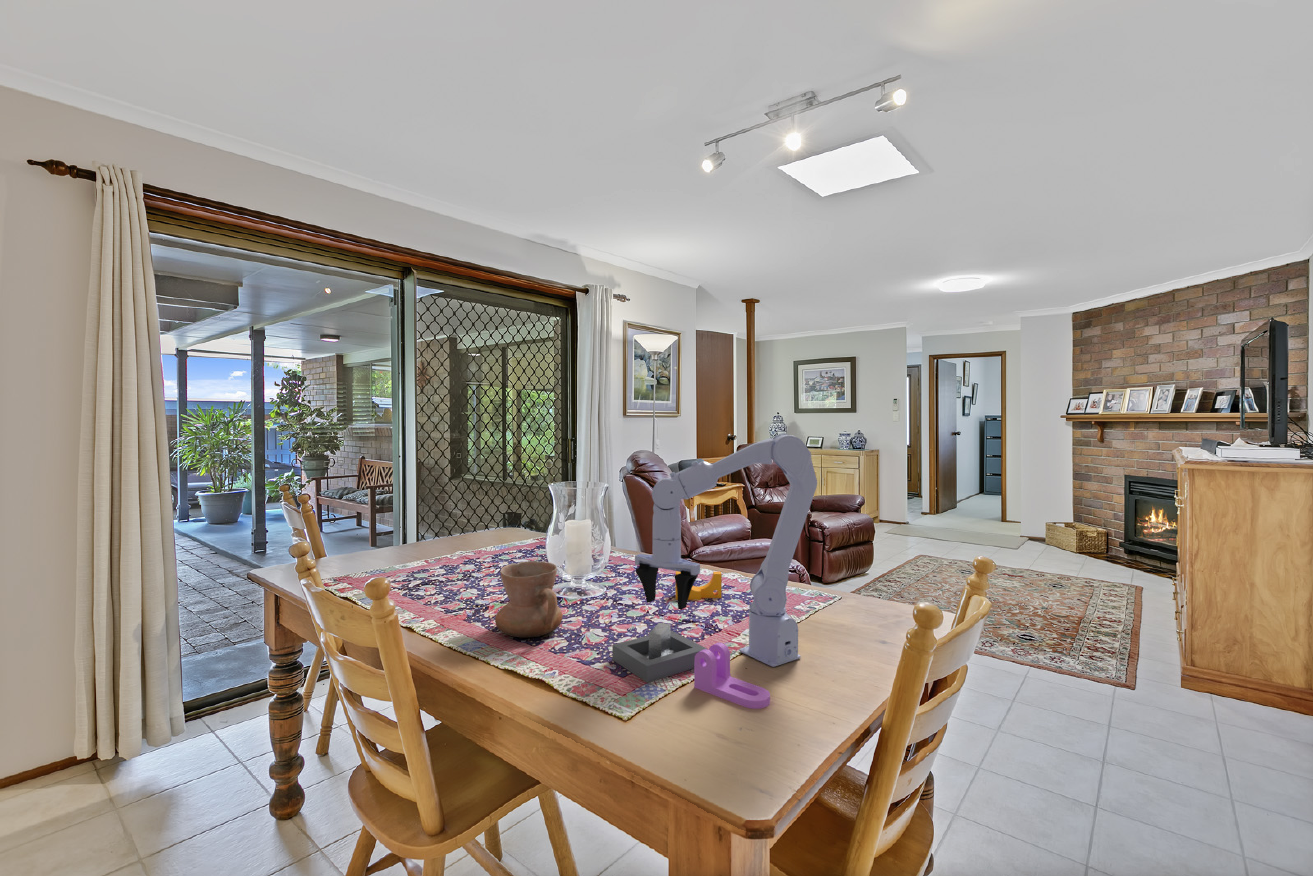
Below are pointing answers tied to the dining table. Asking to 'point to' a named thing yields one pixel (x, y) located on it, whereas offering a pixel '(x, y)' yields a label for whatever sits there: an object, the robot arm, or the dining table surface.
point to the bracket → (725, 679)
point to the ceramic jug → (529, 600)
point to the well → (648, 670)
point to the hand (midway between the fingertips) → (666, 604)
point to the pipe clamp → (705, 588)
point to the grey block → (659, 641)
